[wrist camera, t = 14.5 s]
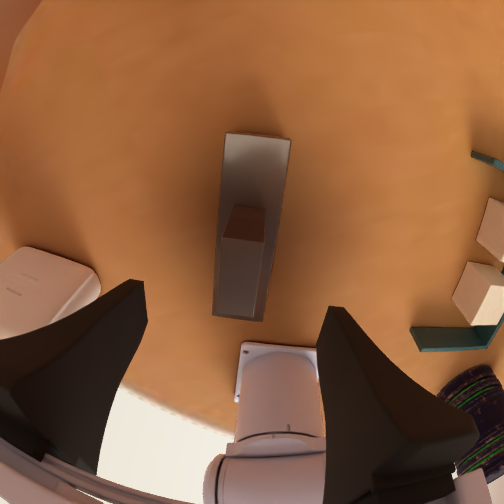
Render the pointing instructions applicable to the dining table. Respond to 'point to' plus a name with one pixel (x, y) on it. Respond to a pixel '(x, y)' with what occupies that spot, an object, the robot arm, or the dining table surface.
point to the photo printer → (41, 290)
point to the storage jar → (480, 419)
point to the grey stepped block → (248, 222)
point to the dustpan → (459, 336)
